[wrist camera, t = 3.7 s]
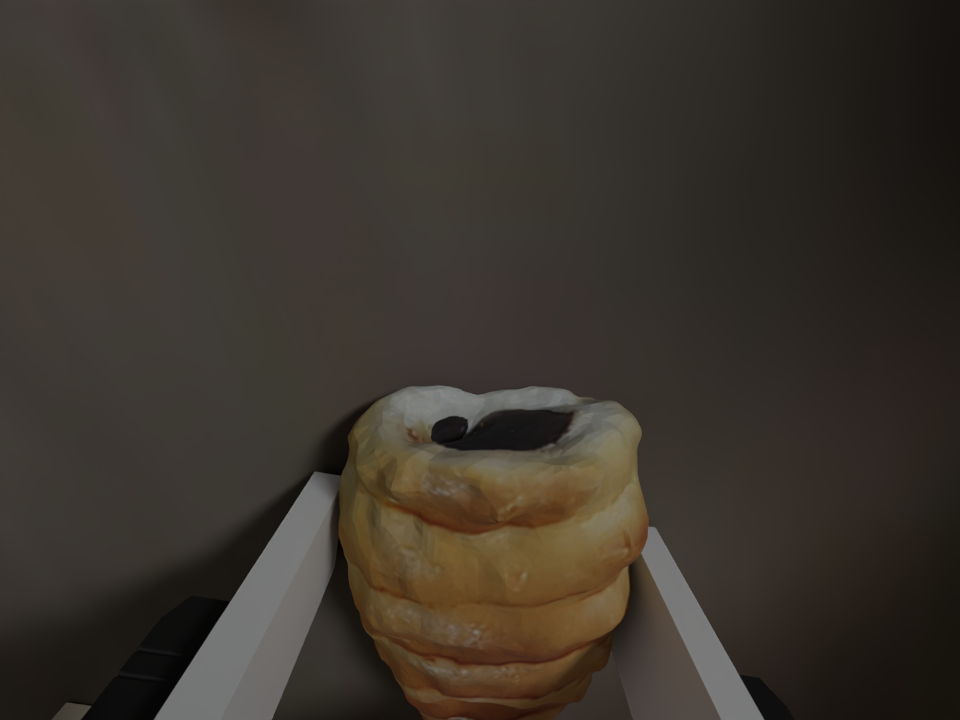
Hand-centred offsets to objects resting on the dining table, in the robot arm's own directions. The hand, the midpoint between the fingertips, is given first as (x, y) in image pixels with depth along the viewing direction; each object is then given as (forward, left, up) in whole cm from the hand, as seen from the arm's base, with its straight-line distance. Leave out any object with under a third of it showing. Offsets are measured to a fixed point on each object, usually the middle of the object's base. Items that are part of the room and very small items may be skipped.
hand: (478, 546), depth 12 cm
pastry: (0, -1, -1) cm, 1 cm away
